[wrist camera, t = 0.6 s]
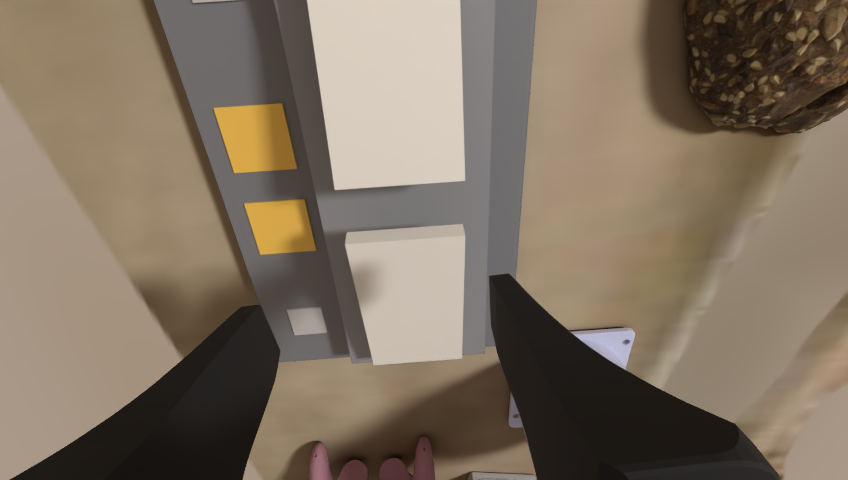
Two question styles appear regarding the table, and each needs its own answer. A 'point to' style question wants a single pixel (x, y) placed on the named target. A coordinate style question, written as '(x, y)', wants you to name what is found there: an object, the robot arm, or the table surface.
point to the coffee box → (499, 476)
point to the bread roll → (768, 61)
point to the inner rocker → (410, 291)
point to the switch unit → (312, 174)
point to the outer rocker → (390, 90)
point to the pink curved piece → (390, 473)
